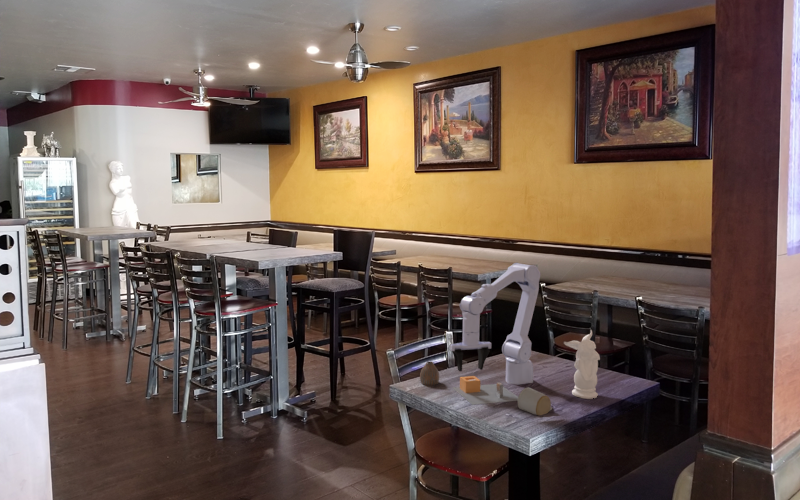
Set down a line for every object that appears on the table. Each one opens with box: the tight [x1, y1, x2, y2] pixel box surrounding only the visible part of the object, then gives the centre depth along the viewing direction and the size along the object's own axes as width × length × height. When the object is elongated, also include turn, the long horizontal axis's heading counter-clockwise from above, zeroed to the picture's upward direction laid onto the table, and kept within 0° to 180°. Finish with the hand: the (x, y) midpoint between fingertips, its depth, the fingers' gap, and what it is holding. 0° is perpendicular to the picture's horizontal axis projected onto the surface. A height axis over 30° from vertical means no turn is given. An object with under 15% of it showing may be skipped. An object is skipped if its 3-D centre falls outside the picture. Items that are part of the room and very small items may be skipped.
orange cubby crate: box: [459, 375, 481, 393], centre depth 214 cm, size 5×5×4 cm
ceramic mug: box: [517, 387, 553, 418], centre depth 196 cm, size 11×8×8 cm
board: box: [452, 383, 519, 406], centre depth 211 cm, size 18×18×1 cm
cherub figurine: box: [563, 329, 601, 400], centre depth 214 cm, size 12×12×22 cm
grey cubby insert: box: [496, 381, 504, 398], centre depth 207 cm, size 1×2×4 cm, turn 16°
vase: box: [419, 361, 440, 387], centre depth 221 cm, size 7×7×9 cm
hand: (470, 369), depth 213 cm, fingers open, 7 cm apart
